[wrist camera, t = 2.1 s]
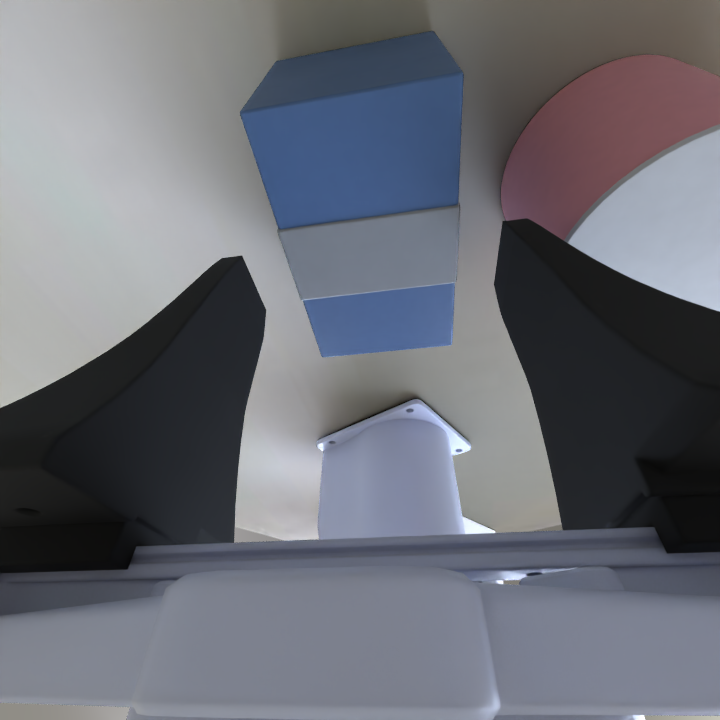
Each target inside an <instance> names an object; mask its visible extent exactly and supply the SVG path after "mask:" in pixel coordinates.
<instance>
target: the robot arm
mask: <svg viewBox="0 0 720 720" xmlns="http://www.w3.org/2000/svg"><path fill="white" fill-rule="evenodd" d="M494 286H495V291H496V295H497V300H498V304H499V308H500V312H501V315H502V318H503V321H504V323H505V326H506V328H507V331H508V333H509V336H510V338H511V341H512V343H513V346H514V348H515V350H516V353H517V355H518V358H519V360H520V363H521V365H522V368H523V370H524V373H525V375H526V378H527V381H528V383H529V386H530V389H531V393H532V396H533V400H534V404H535V407H536V411H537V415H538V418H539V422H540V426H541V430H542V434H543V438H544V443H545V447H546V451H547V455H548V460H549V464H550V469H551V473H552V478H553V482H554V487H555V492H556V497H557V502H558V507H559V512H560V518H561V523H562V528H563V530H560V531H534V532H507V533H480V534H465V530H464V524H463V518H462V512H461V506H460V500H459V494H458V488H457V482H456V476H455V470H454V464H453V458H452V456H453V455H456V454H459V453H462V452H466V451H468V450H470V449H471V444H470V443H469V442H468V441H467V440H466V439H465V438H464V437H463V436H461V435H460V434H459V433H458V432H457V431H456V430H455V429H453V428H452V427H451V426H450V425H449V424H448V423H447V422H445V421H444V420H443V419H442V418H441V417H440V416H438V415H437V414H436V413H435V412H434V411H433V410H432V409H430V408H429V407H428V406H427V405H426V404H425V403H424V402H422V401H421V400H418V399H414V400H411V401H408V402H406V403H404V404H401V405H399V406H397V407H394V408H392V409H390V410H387V411H385V412H383V413H380V414H378V415H376V416H373V417H371V418H368V419H366V420H364V421H361V422H359V423H357V424H354V425H352V426H350V427H347V428H345V429H343V430H340V431H338V432H336V433H333V434H331V435H329V436H326V437H324V438H321V439H319V440H318V441H317V443H316V446H317V447H318V448H319V449H321V450H323V462H322V474H321V486H320V498H319V511H318V535H319V540H293V541H268V542H267V541H266V542H241V543H234V527H235V503H236V489H237V475H238V464H239V455H240V446H241V437H242V430H243V423H244V415H245V410H246V405H247V400H248V396H249V393H250V389H251V385H252V381H253V377H254V374H255V370H256V366H257V362H258V358H259V354H260V350H261V346H262V342H263V337H264V328H265V317H266V309H265V307H264V304H263V302H262V300H261V298H260V295H259V293H258V291H257V289H256V286H255V284H254V282H253V280H252V277H251V275H250V273H249V270H248V268H247V266H246V264H245V261H244V259H243V257H242V256H236V257H229V258H222V259H220V260H219V261H217V262H216V263H215V264H214V265H212V266H211V267H210V268H209V269H208V270H207V271H205V272H204V273H203V274H202V275H201V276H200V277H199V278H198V279H197V280H195V281H194V282H193V283H192V284H191V285H190V286H189V287H188V288H187V289H186V290H185V291H183V292H182V293H181V294H180V295H179V296H178V297H177V298H176V299H175V300H173V301H172V302H171V303H170V304H169V305H168V306H166V307H165V308H164V309H163V310H162V311H160V312H159V313H158V314H157V315H156V316H154V317H153V318H152V319H151V320H150V321H148V322H147V323H146V324H145V325H143V326H142V327H141V328H140V329H138V330H137V331H136V332H134V333H133V334H132V335H130V336H129V337H127V338H126V339H124V340H123V341H122V342H120V343H119V344H117V345H116V346H114V347H113V348H111V349H110V350H108V351H107V352H105V353H104V354H102V355H100V356H99V357H97V358H95V359H94V360H92V361H90V362H89V363H87V364H85V365H84V366H82V367H80V368H79V369H77V370H75V371H74V372H72V373H70V374H69V375H67V376H65V377H63V378H61V379H59V380H57V381H55V382H54V383H52V384H50V385H48V386H46V387H44V388H42V389H40V390H38V391H36V392H34V393H32V394H30V395H28V396H26V397H24V398H22V399H20V400H17V401H15V402H13V403H11V404H9V405H6V406H4V407H2V408H0V703H25V704H55V705H84V706H115V707H130V709H129V712H128V716H127V719H126V720H645V718H644V715H683V716H687V715H689V716H701V715H702V716H720V312H719V311H716V310H713V309H710V308H707V307H704V306H701V305H698V304H695V303H692V302H689V301H686V300H683V299H681V298H678V297H675V296H673V295H670V294H667V293H665V292H662V291H660V290H658V289H655V288H653V287H650V286H648V285H646V284H643V283H641V282H639V281H636V280H634V279H632V278H630V277H628V276H626V275H624V274H622V273H620V272H618V271H616V270H614V269H612V268H610V267H608V266H606V265H604V264H603V263H601V262H599V261H597V260H595V259H593V258H592V257H590V256H588V255H586V254H585V253H583V252H581V251H580V250H578V249H576V248H575V247H573V246H572V245H570V244H568V243H567V242H565V241H564V240H562V239H560V238H559V237H557V236H556V235H554V234H553V233H551V232H550V231H548V230H546V229H545V228H543V227H542V226H540V225H538V224H537V223H535V222H533V221H532V220H530V219H528V218H525V219H517V220H510V221H503V224H502V231H501V238H500V245H499V252H498V260H497V267H496V274H495V281H494ZM496 580H521V581H520V582H519V585H509V584H498V582H497V581H496Z"/></svg>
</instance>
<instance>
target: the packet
mask: <svg viewBox="0 0 720 720" xmlns="http://www.w3.org/2000/svg"><path fill="white" fill-rule="evenodd" d="M463 78H464V74H463V72H462V70H461V69H460V67H459V66H458V65H457V63H456V62H455V60H454V59H453V58H452V56H451V55H450V53H449V52H448V51H447V49H446V48H445V46H444V45H443V44H442V42H441V41H440V39H439V38H438V36H437V35H436V34H435V32H434V31H430V32H424V33H419V34H414V35H409V36H404V37H399V38H393V39H388V40H383V41H378V42H373V43H368V44H362V45H357V46H352V47H347V48H342V49H337V50H331V51H326V52H321V53H316V54H311V55H305V56H300V57H295V58H290V59H285V60H280V61H276V62H275V63H274V65H273V66H272V68H271V69H270V70H269V72H268V73H267V75H266V76H265V78H264V79H263V80H262V82H261V83H260V85H259V86H258V87H257V89H256V90H255V92H254V93H253V94H252V96H251V97H250V99H249V100H248V101H247V103H246V104H245V106H244V107H243V108H242V110H241V111H240V116H241V119H242V122H243V125H244V128H245V130H246V133H247V136H248V139H249V142H250V145H251V148H252V151H253V154H254V157H255V160H256V163H257V166H258V169H259V172H260V175H261V178H262V181H263V184H264V187H265V190H266V193H267V196H268V199H269V202H270V205H271V208H272V211H273V214H274V216H275V219H276V222H277V225H278V235H279V238H280V241H281V243H282V246H283V249H284V252H285V255H286V258H287V261H288V264H289V267H290V270H291V273H292V276H293V279H294V281H295V284H296V287H297V290H298V293H299V296H300V299H301V300H303V302H304V305H305V308H306V311H307V314H308V317H309V320H310V323H311V326H312V329H313V332H314V335H315V338H316V341H317V344H318V347H319V350H320V353H321V356H322V357H333V356H343V355H354V354H364V353H375V352H385V351H396V350H406V349H417V348H427V347H437V346H448V345H452V336H453V313H454V289H455V282H456V280H457V263H458V241H459V220H460V205H459V202H458V196H459V172H460V149H461V125H462V102H463Z"/></svg>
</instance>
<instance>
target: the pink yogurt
mask: <svg viewBox="0 0 720 720" xmlns="http://www.w3.org/2000/svg"><path fill="white" fill-rule="evenodd" d="M501 204H502V210H503V214H504V217H505V219H506V221H510V220H517V219H525V218H528V219H530V220H532V221H533V222H535V223H537V224H538V225H540V226H542V227H543V228H545V229H546V230H548V231H550V232H551V233H553V234H554V235H556V236H557V237H559V238H560V239H562V240H564V241H565V242H567V243H568V244H570V245H572V246H573V247H575V248H576V249H578V250H580V251H581V252H583V253H585V254H586V255H588V256H590V257H592V258H593V259H595V260H597V261H599V262H601V263H603V264H604V265H606V266H608V267H610V268H612V269H614V270H616V271H618V272H620V273H622V274H624V275H626V276H628V277H630V278H632V279H634V280H636V281H639V282H641V283H643V284H646V285H648V286H650V287H653V288H655V289H658V290H660V291H662V292H665V293H667V294H670V295H673V296H675V297H678V298H681V299H683V300H686V301H689V302H692V303H695V304H698V305H701V306H704V307H707V308H710V309H713V310H716V311H719V312H720V77H719V76H717V75H714V74H712V73H709V72H707V71H704V70H702V69H699V68H697V67H694V66H692V65H689V64H687V63H684V62H682V61H679V60H677V59H674V58H670V57H666V56H662V55H648V54H647V55H637V56H630V57H626V58H621V59H617V60H614V61H612V62H609V63H606V64H604V65H601V66H599V67H597V68H595V69H593V70H591V71H589V72H587V73H585V74H583V75H582V76H580V77H579V78H577V79H576V80H574V81H572V82H571V83H569V84H568V85H567V86H565V87H564V88H563V89H562V90H560V91H559V92H558V93H557V94H555V95H554V96H553V97H552V98H551V99H550V100H549V101H548V102H547V103H546V104H545V105H544V106H543V107H542V108H541V109H540V110H539V111H538V112H537V114H536V115H535V116H534V117H533V118H532V119H531V121H530V122H529V123H528V125H527V126H526V128H525V129H524V130H523V132H522V133H521V135H520V137H519V139H518V140H517V142H516V144H515V145H514V147H513V150H512V152H511V154H510V156H509V159H508V161H507V164H506V168H505V171H504V175H503V180H502V185H501Z"/></svg>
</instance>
